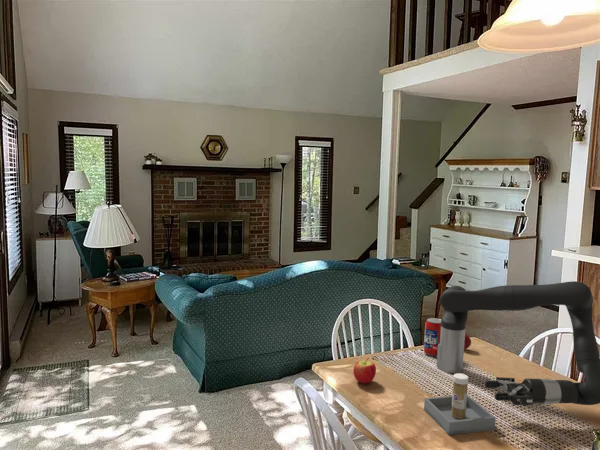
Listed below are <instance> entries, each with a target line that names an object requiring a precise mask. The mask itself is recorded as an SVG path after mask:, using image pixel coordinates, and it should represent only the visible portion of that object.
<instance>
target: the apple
mask: <svg viewBox="0 0 600 450" xmlns="http://www.w3.org/2000/svg"><path fill="white" fill-rule="evenodd" d="M369 359H370V357H368V358H367V359H365V360H364V359H363V360H358V361H357V362H355V363H354V366H353V376H354V378H355V380H356V381H357V382H358V383H360V384H370V383H372V382H373V380H375V379H374V378H375V377H376V374H377V373H376V372H377V368H376V364H375V363H374V362H373V361H369Z"/></svg>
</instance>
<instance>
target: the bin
mask: <svg viewBox="0 0 600 450" xmlns="http://www.w3.org/2000/svg"><path fill="white" fill-rule="evenodd" d="M423 401H424V403H423V411H424V412H425V413H426V414H428V415H429V417H432V418H433V419H434V420H435V421H436V422H437V423H438V424H437V423H436V422H435V421H434V420H433V419H432V418H431V419H432V420H433V421H434V422H435V423H436V424H437V425H438V426H439V427H440V428H441V429H442V430H443V431H444V432H445V431H446V432H445V433H446V434H447V436H454V435H461V434H462V435H463V434H471V433H472V434H473V433H479V432H480V431H481V432H488V431H495V429H496V416H495V415H493V414H492V413H491V412H490V411H489V410H487V409H486V408H485V407H483V406H482V405H481V404H480V403H478V401H476V400H475V399H474V398H472V397H471V396H470V395H468V394H467V402H466V414H465V415H466V417H465V418H464V419H456V418H454V417H453V416H452V415H451V412H452V395H446V396H435V397H425V398H424V400H423Z"/></svg>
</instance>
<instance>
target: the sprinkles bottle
mask: <svg viewBox="0 0 600 450" xmlns="http://www.w3.org/2000/svg"><path fill="white" fill-rule="evenodd" d="M452 381H453V388H452V395H451V396H452V412H451V415H452V416H453V417H454V418H456V419H464V418H465V417H466V415H465V414H466V402H467V395H468V384H469V376H468V375H466V374H465V373H462V372H459V373H453V377H452Z"/></svg>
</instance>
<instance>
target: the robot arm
mask: <svg viewBox="0 0 600 450" xmlns="http://www.w3.org/2000/svg"><path fill="white" fill-rule="evenodd" d="M593 302H594V297H593V293H592V291H591V288H590V287H589V285H588V284H586V283H584V282H581V281H577V280H576V281H574V280H573V281H572V280H571V281H564V282H556V283H550V284H521V285H519V284H512V285H511V284H509V285H498V286H492V287H488V288H484V289H479V290H478V289H477V290H466V289H465V288H464V287H463V286H460V285H451V286H450V287H448V288H447V289H446V290H444V291H443V292H442V293H441V295H440V298H439V303H440V306H441V307H442V309H443V313H442V316H441V318H440V319H441V334H440V344H438V351H437V356H436V368H437V369H440V370H441V371H443V372H446V373H450V374H451V373H452V374H457V373H462V371H463V369H464V355H465V350H464V341H465V332H466V325H467V321H468V315H469V314H468V312H469V311H481V310H482V311H496V312H497V311H498V312H499V311H502V312H504V311H506V312H507V311H509V312H510V311H517V312H518V311H526V310H530V309H534V308H538V307H541V306H547V305H549V306H550V305H552V306H553V305H554V306H555V305H556V306H565V307H566V310H567V313H568V314H569V318H570V323H571V327H572V337H573V341H572V342H573V351H574V359H575V365H576V369H577V371H578V372H580V374H583V376H584V377H585V381H584V382H573V381H571V380H566V379H552V378H551V379H550V378H525V379H523V381H522V382H517V381H516V378H515V377H500V376H497V377H495V380H485V381H484V388H486V389H500V390H502V391H503V392H495V393H494V399H495V400H496V401H506V402H507V401H508V402H509V403H512V405H515V406H531V405H533V404H536V405H538V404H539V405H541V404H542V405H551V404H552V405H554V404H574V405H581V406H582V405H583V406H593V405H594V406H595V405H598V404H599V405H600V350H599V346H598V342H597V339H596V335H595V329H594V325H593V324H594V323H593Z"/></svg>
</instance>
